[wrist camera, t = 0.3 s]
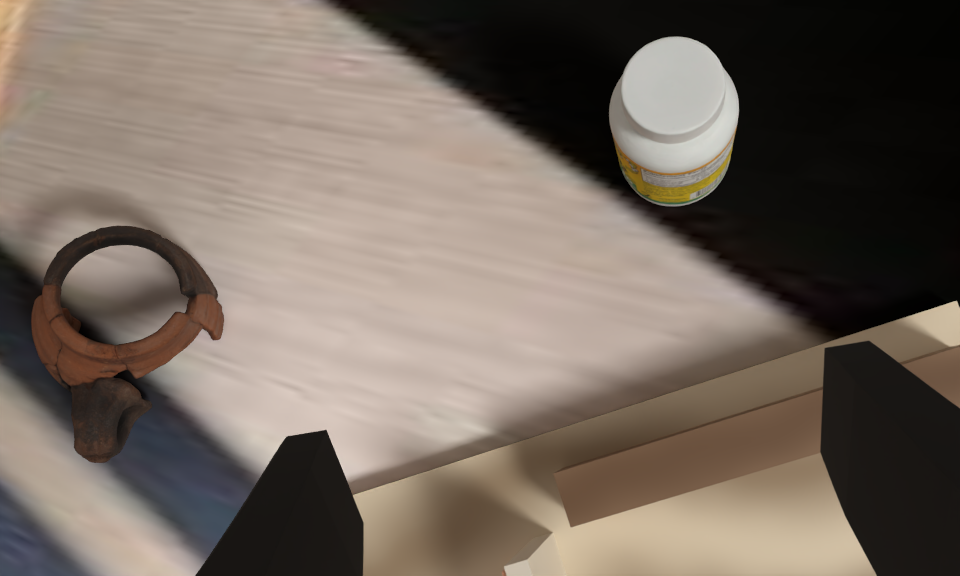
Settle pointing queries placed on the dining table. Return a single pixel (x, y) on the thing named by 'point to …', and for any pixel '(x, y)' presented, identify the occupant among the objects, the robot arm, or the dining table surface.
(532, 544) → the tile
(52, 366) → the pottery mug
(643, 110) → the supplement bottle
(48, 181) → the dining table surface
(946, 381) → the brown wooden bar
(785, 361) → the board
